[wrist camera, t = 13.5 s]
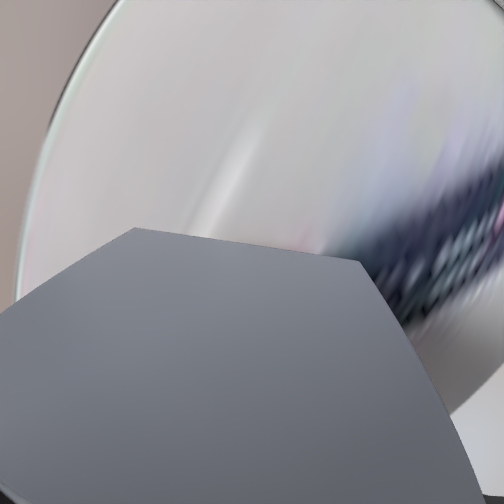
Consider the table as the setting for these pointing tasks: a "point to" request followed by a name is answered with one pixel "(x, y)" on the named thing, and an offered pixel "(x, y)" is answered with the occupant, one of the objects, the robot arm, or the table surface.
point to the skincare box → (500, 3)
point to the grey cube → (218, 384)
